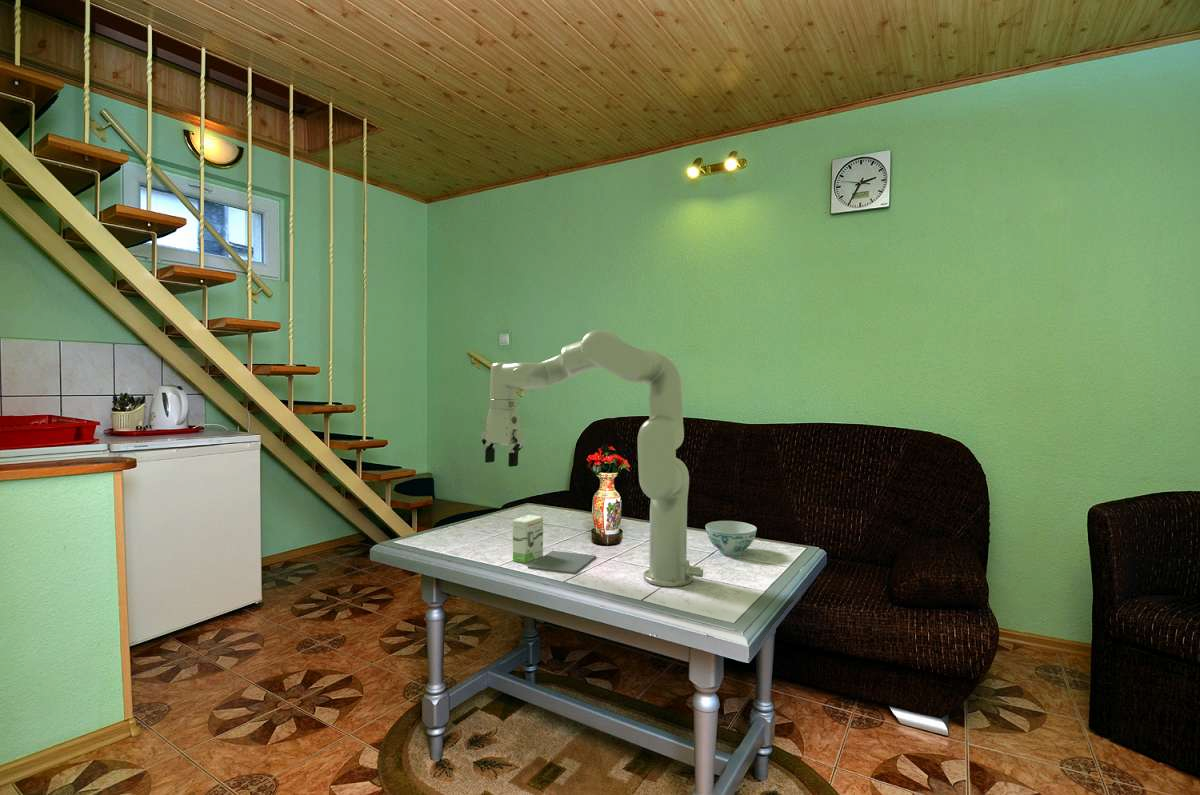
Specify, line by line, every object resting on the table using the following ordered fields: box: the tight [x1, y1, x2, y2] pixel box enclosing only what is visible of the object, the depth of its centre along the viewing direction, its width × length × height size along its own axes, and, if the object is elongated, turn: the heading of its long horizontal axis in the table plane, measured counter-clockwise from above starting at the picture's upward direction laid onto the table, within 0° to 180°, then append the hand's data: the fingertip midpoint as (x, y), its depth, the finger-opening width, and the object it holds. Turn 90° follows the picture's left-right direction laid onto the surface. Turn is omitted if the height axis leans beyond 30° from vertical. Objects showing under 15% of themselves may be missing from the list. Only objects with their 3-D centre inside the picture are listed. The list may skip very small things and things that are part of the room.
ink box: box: [512, 514, 544, 564], centre depth 169 cm, size 9×5×12 cm, turn 149°
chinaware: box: [705, 520, 758, 557], centre depth 176 cm, size 15×15×8 cm
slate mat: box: [527, 550, 597, 575], centre depth 165 cm, size 14×16×1 cm
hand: (501, 464), depth 170 cm, fingers open, 9 cm apart
